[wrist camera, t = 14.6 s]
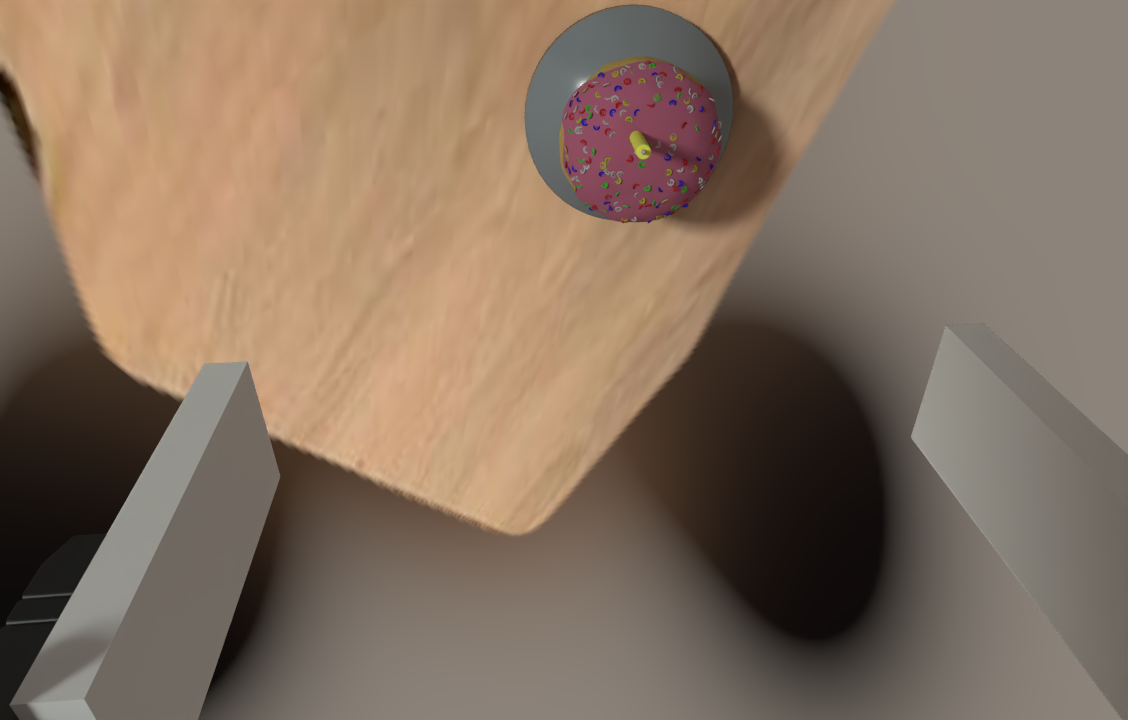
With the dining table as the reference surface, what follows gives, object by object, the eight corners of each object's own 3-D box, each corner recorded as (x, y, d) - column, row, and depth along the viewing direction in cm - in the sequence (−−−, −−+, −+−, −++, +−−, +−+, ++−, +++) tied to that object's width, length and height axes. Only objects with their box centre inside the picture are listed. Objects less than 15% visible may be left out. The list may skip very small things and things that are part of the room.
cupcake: (523, 103, 42) (531, 169, 32) (651, 7, 40) (704, 45, 30) (606, 220, 46) (637, 312, 36) (727, 138, 44) (796, 211, 34)
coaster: (525, 217, 47) (526, 221, 46) (523, 3, 40) (523, 5, 40) (716, 214, 47) (719, 219, 47) (743, 5, 41) (747, 7, 40)
